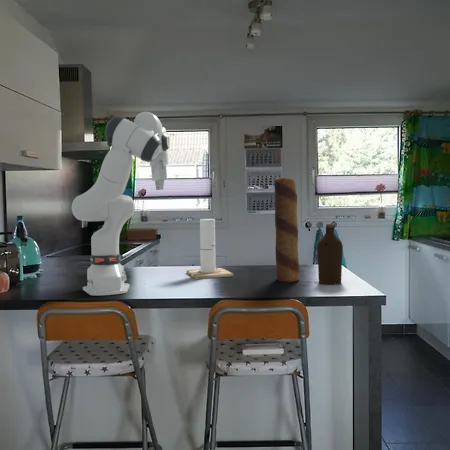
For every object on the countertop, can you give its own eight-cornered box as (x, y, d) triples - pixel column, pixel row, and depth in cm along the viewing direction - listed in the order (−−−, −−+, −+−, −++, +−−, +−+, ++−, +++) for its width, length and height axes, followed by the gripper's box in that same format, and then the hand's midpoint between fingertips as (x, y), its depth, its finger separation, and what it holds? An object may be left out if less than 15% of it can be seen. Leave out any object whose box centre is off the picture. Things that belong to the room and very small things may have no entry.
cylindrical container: (218, 271, 224) (218, 219, 223) (207, 273, 219) (207, 219, 218) (208, 269, 229) (207, 218, 228) (197, 271, 224) (196, 219, 223)
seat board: (233, 276, 219) (233, 272, 219) (195, 279, 214) (195, 275, 213) (221, 270, 236) (221, 267, 236) (186, 273, 231) (186, 269, 231)
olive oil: (345, 284, 194) (345, 224, 193) (319, 285, 194) (319, 225, 193) (339, 280, 205) (339, 223, 203) (315, 280, 205) (314, 223, 204)
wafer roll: (270, 280, 207) (269, 178, 205) (284, 277, 215) (283, 178, 213) (289, 283, 200) (288, 177, 198) (303, 279, 208) (302, 177, 206)
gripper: (169, 159, 218) (170, 189, 219) (161, 162, 237) (162, 190, 238) (156, 159, 216) (156, 189, 217) (149, 162, 235) (149, 190, 236)
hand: (159, 189), depth 227 cm, fingers open, 8 cm apart
